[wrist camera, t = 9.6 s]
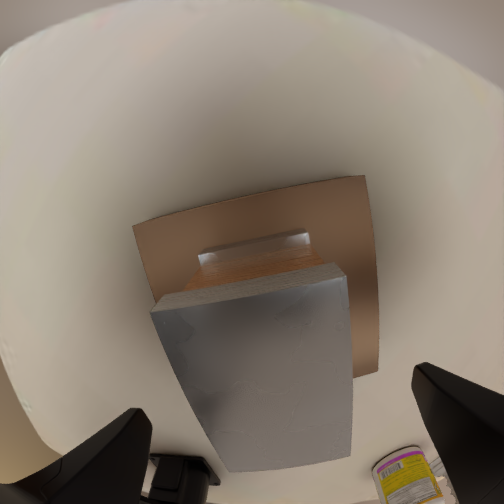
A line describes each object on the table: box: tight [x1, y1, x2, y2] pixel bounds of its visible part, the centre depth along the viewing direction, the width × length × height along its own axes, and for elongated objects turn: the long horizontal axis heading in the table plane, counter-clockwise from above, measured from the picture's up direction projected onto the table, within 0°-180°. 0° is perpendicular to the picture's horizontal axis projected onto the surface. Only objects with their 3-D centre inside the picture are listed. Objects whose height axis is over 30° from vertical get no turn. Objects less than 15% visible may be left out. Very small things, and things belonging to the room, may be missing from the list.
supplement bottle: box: [372, 447, 445, 504], centre depth 15 cm, size 7×7×13 cm
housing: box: [150, 228, 353, 472], centre depth 11 cm, size 5×8×7 cm, turn 12°
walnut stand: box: [132, 175, 379, 378], centre depth 15 cm, size 12×12×2 cm
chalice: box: [429, 457, 459, 504], centre depth 14 cm, size 7×7×18 cm
